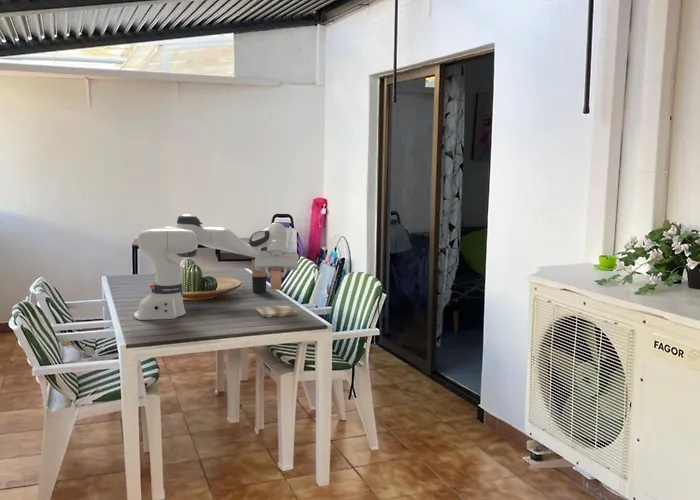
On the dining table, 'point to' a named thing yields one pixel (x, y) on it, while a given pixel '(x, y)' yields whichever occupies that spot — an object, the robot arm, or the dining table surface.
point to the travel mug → (258, 279)
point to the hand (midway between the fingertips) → (275, 276)
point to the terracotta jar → (275, 278)
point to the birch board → (275, 311)
